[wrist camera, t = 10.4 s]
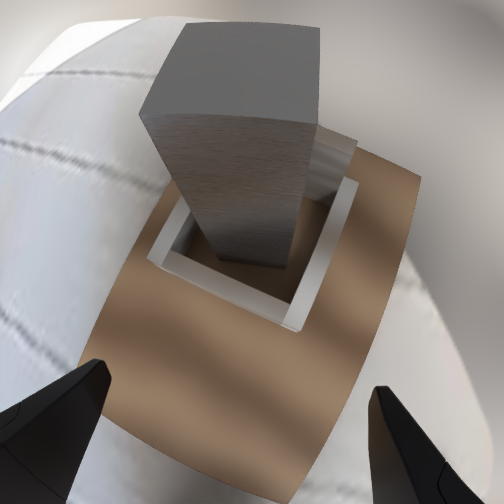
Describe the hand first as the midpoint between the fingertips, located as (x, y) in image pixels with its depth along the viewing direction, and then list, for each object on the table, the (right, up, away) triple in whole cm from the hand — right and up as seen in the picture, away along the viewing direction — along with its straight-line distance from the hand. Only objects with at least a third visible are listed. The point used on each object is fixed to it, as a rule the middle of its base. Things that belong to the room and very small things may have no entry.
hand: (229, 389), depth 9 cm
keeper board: (+1, +2, +11) cm, 11 cm away
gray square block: (+1, +5, +10) cm, 12 cm away
